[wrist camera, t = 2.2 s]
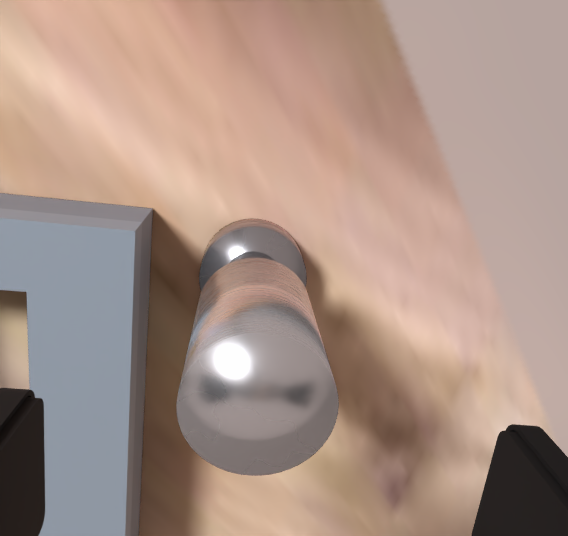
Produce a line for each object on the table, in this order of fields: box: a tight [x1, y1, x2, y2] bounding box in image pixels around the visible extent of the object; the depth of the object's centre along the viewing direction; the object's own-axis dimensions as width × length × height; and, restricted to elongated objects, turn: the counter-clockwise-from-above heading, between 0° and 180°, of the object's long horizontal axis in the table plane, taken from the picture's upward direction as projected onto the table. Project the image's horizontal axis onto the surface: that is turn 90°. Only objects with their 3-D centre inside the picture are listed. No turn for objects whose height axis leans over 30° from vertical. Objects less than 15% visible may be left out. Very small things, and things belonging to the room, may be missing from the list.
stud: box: [176, 219, 339, 475], centre depth 17 cm, size 4×4×10 cm
